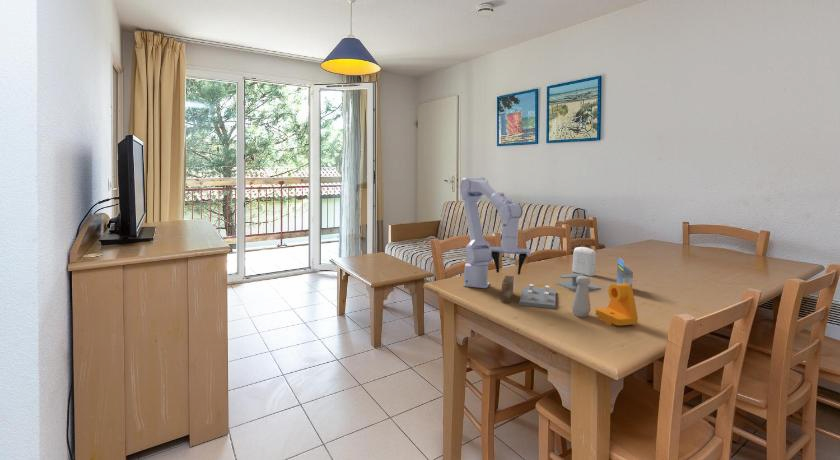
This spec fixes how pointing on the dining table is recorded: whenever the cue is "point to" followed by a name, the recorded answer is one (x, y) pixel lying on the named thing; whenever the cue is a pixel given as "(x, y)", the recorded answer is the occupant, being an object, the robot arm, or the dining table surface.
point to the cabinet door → (507, 289)
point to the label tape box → (624, 274)
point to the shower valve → (574, 282)
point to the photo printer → (584, 261)
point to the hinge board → (538, 297)
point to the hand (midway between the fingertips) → (508, 272)
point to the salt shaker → (582, 297)
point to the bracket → (619, 306)
